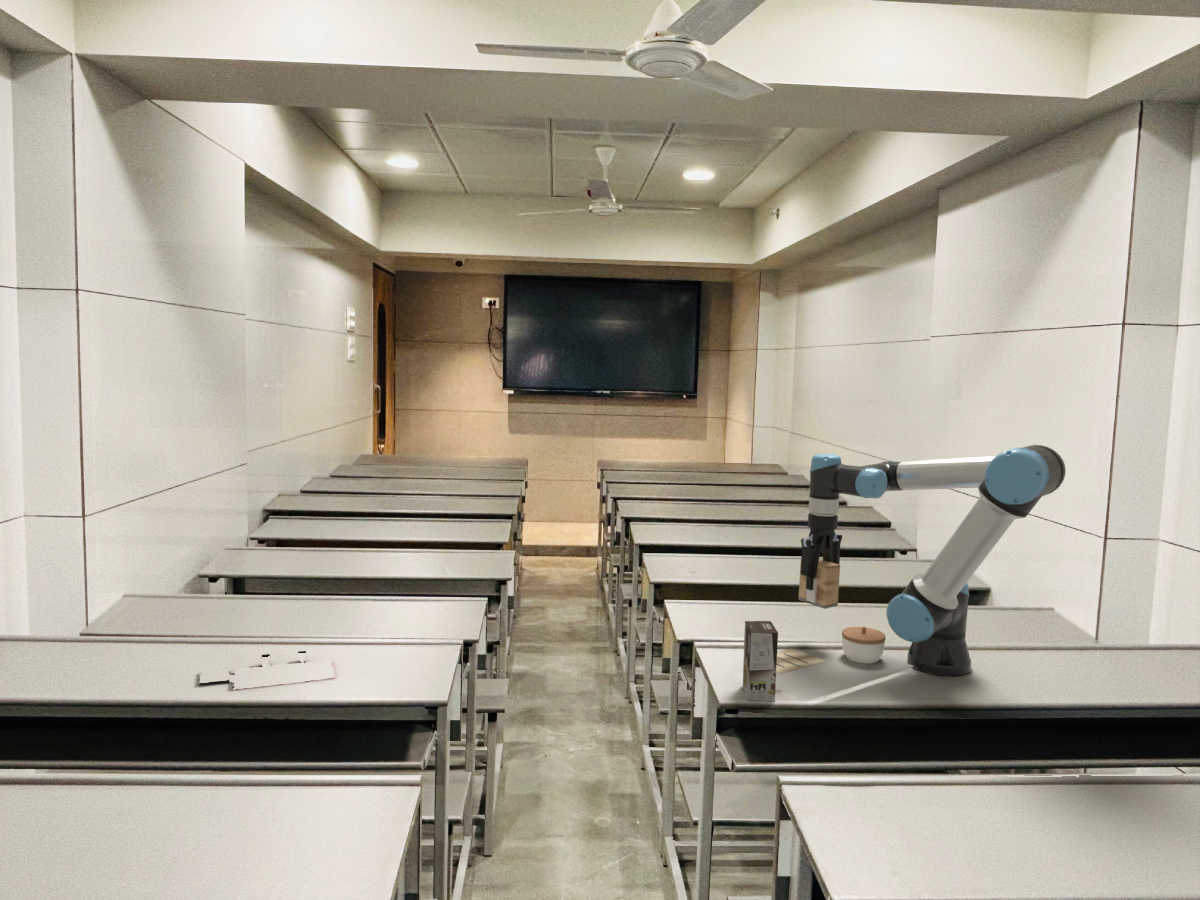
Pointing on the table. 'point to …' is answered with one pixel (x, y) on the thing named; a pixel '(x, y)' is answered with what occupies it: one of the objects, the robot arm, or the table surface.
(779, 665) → the board
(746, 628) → the coffee box
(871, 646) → the lidded jar
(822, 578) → the block
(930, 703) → the table surface
